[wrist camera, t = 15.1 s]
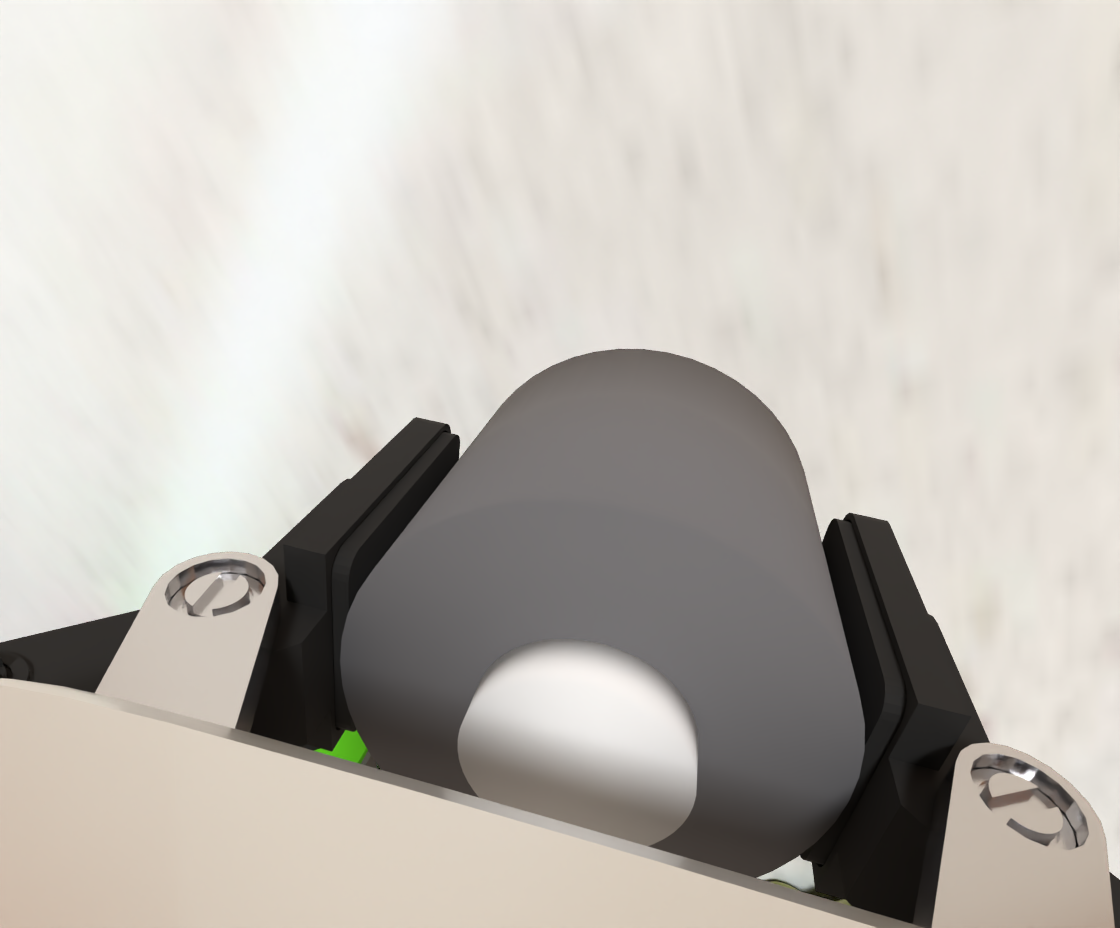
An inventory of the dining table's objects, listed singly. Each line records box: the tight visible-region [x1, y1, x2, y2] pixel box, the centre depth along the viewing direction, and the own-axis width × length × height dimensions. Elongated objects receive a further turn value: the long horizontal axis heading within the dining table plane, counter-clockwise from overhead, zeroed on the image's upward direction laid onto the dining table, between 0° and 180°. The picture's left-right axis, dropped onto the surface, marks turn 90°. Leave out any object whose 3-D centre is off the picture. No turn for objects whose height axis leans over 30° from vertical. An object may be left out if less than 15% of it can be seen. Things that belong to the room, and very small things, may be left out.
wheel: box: [340, 349, 865, 878], centre depth 10 cm, size 6×6×6 cm
